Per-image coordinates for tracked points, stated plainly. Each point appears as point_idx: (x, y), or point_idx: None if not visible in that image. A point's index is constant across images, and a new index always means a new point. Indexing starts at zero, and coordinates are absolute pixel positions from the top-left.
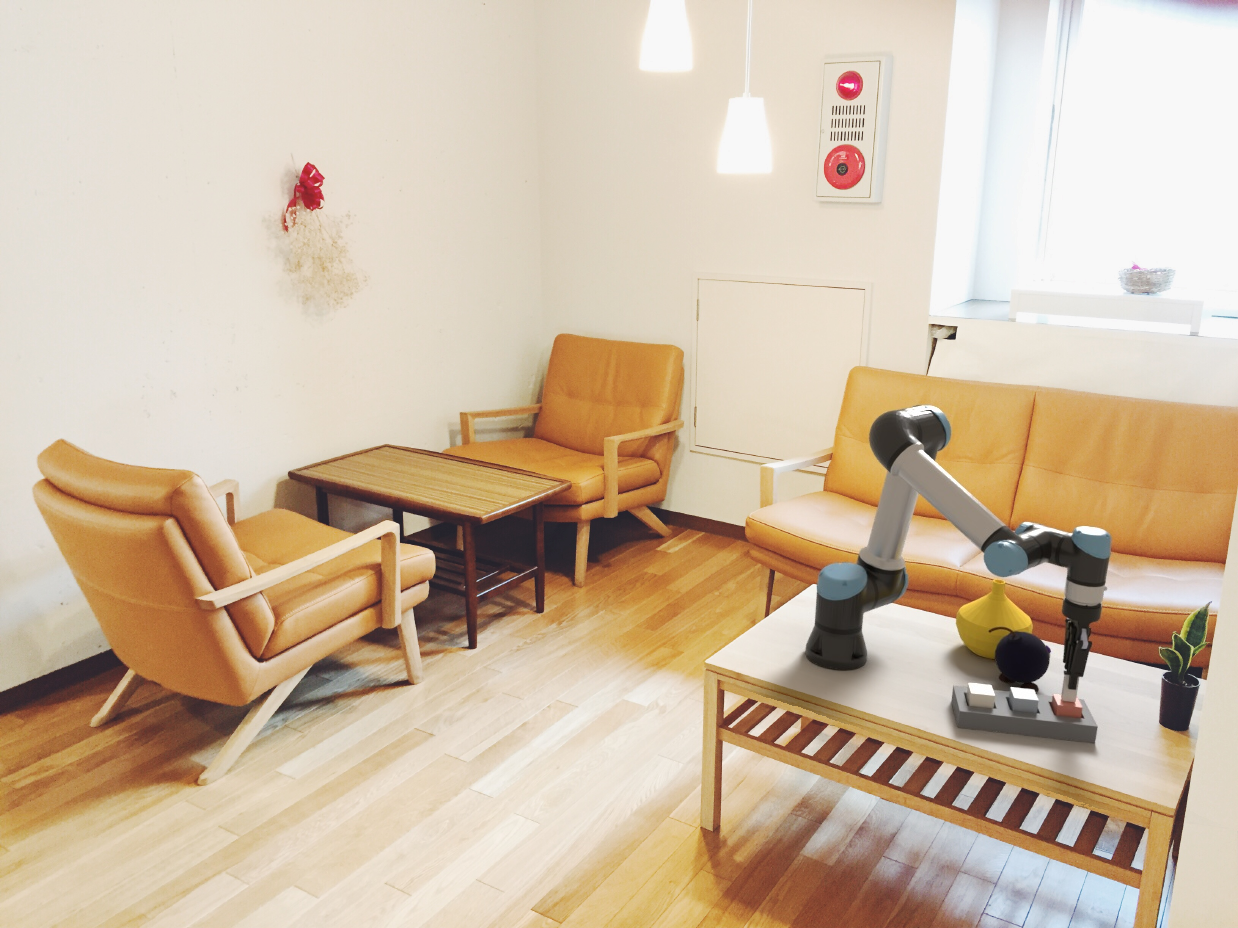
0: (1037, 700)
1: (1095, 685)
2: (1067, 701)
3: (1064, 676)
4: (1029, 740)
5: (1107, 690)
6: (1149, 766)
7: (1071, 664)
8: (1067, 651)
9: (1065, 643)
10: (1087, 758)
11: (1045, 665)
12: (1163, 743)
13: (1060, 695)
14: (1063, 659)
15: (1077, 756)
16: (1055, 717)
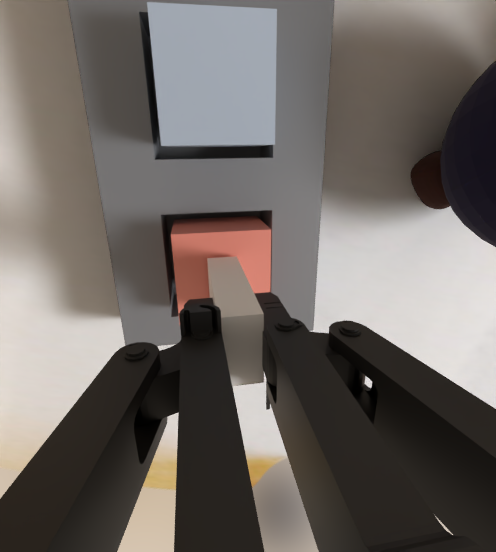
0: (161, 140)
1: (459, 356)
2: None
3: (246, 299)
4: (67, 110)
5: None
6: (58, 424)
7: (179, 391)
8: (336, 407)
9: (462, 422)
10: (24, 286)
11: (490, 234)
12: None
13: (263, 257)
14: (351, 330)
15: (22, 259)
16: (142, 216)
